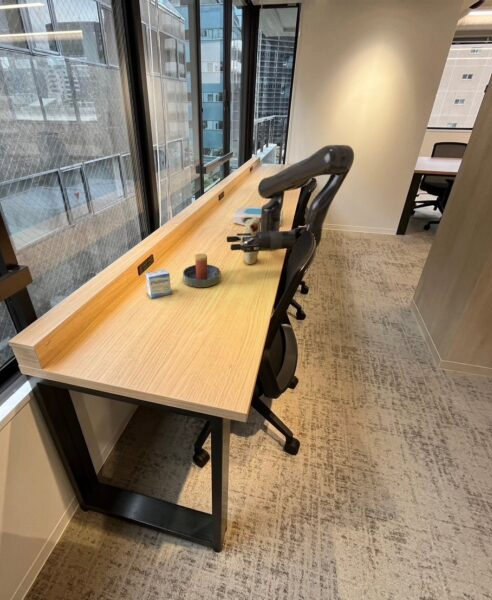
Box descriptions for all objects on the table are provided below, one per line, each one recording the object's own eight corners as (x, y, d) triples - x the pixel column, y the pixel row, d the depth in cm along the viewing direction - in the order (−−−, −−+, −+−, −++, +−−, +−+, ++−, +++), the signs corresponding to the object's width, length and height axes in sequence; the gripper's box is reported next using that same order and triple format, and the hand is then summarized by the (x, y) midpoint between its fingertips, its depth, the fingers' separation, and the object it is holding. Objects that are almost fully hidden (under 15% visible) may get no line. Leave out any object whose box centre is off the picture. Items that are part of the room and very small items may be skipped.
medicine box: (151, 299, 120) (148, 277, 115) (147, 293, 123) (144, 272, 119) (171, 294, 123) (169, 273, 118) (167, 289, 126) (165, 268, 122)
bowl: (182, 273, 138) (181, 265, 137) (217, 270, 141) (217, 263, 139) (184, 289, 126) (184, 281, 124) (223, 286, 128) (223, 278, 126)
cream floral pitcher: (254, 267, 144) (257, 222, 134) (240, 264, 146) (241, 220, 136) (261, 258, 151) (263, 215, 141) (247, 256, 154) (249, 214, 143)
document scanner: (280, 228, 190) (281, 217, 187) (232, 225, 195) (233, 214, 192) (282, 217, 208) (283, 207, 205) (239, 215, 213) (239, 205, 210)
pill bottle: (195, 276, 134) (194, 253, 129) (206, 275, 135) (206, 253, 130) (196, 281, 130) (195, 258, 125) (208, 280, 131) (207, 257, 126)
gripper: (264, 226, 134) (225, 228, 132) (275, 238, 122) (232, 240, 120) (263, 243, 138) (225, 245, 135) (273, 256, 126) (232, 259, 123)
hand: (228, 243), depth 127 cm, fingers open, 8 cm apart
